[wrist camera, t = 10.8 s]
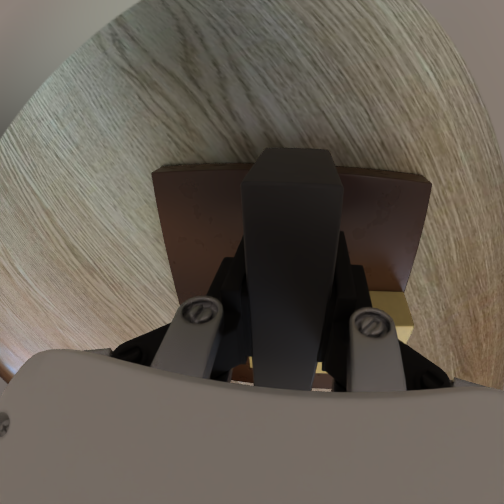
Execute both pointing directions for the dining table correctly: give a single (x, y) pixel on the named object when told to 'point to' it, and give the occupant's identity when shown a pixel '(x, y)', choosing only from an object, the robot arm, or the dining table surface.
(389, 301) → the butter stick
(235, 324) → the robot arm
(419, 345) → the dining table surface
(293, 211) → the knife
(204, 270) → the cutting board
